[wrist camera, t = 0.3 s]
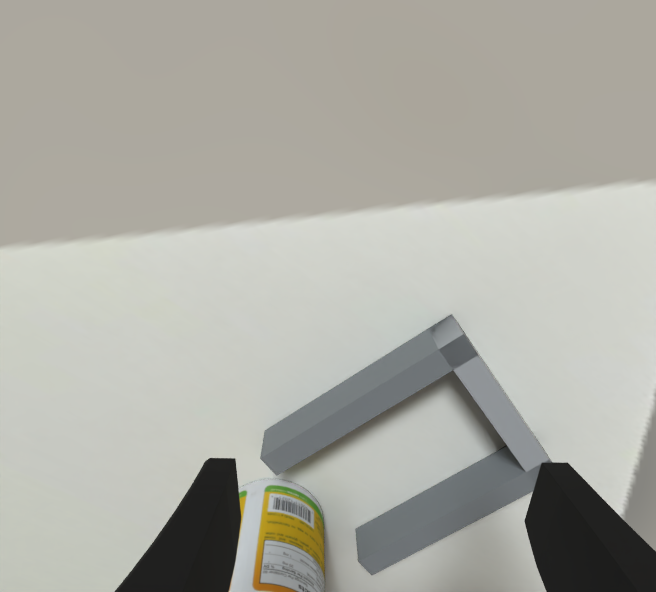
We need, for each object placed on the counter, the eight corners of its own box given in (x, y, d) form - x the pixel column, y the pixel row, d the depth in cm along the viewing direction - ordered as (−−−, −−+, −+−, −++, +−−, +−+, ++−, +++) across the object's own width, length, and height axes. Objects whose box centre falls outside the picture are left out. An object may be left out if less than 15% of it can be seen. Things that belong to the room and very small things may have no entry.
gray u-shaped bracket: (368, 542, 27) (371, 575, 25) (264, 431, 24) (260, 458, 22) (542, 448, 25) (561, 476, 23) (451, 314, 22) (463, 333, 20)
